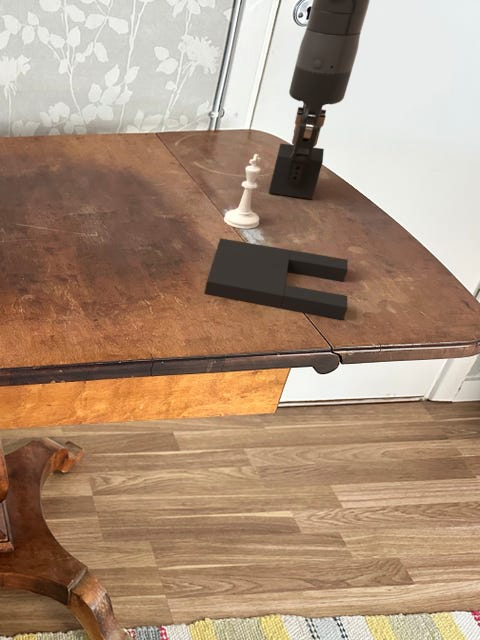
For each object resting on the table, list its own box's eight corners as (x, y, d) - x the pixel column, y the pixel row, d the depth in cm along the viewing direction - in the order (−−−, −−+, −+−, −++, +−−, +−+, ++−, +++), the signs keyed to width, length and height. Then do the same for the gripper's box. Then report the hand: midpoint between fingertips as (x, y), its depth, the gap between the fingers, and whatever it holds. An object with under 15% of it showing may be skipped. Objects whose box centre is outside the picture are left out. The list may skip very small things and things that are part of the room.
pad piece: (313, 185, 112) (323, 148, 108) (312, 199, 108) (322, 161, 104) (271, 179, 114) (280, 143, 110) (268, 193, 110) (277, 155, 106)
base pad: (343, 271, 91) (347, 259, 90) (343, 320, 82) (347, 307, 81) (217, 249, 96) (220, 237, 95) (204, 293, 87) (206, 281, 86)
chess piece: (266, 223, 102) (282, 156, 96) (242, 231, 100) (258, 164, 94) (240, 210, 105) (254, 145, 99) (216, 218, 103) (230, 152, 97)
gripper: (353, 80, 93) (318, 199, 103) (352, 53, 104) (321, 164, 114) (293, 74, 95) (265, 191, 105) (299, 49, 106) (272, 157, 116)
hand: (294, 176), depth 110 cm, fingers closed on pad piece, 5 cm apart
